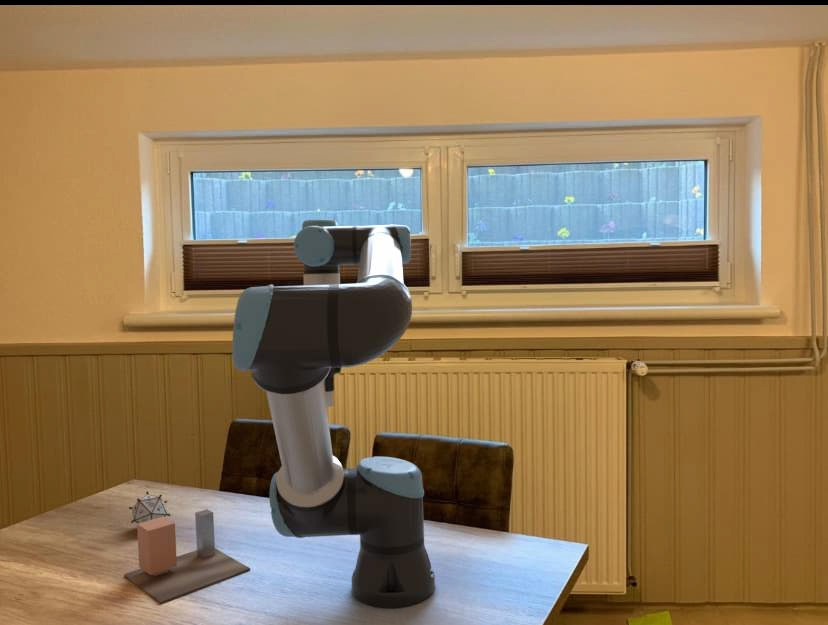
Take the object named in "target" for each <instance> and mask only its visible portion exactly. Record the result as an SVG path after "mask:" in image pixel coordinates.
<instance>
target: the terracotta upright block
mask: <svg viewBox="0 0 828 625" xmlns="http://www.w3.org/2000/svg"><path fill="white" fill-rule="evenodd" d="M136 529H137V531H136V532H137V550H138V567H139V569H143V570H144V571H145V572H147V573H148V574H149V575H153V574H156V573H159V572H162V571H165V570H168V569H171V568H174V567H176V566H177V556H178V555H177V542H176V541H177V540H176V523H175V522H174V521H172V520H170V519H168V518H167V517H159V518H156V519H152V520H149V521H145V522H142V523H138V524H137V523H136Z"/></svg>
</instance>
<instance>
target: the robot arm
mask: <svg viewBox="0 0 828 625" xmlns="http://www.w3.org/2000/svg"><path fill="white" fill-rule="evenodd" d="M411 242H412V240H411V229H410V227H408V225H406V224H405V225H402V224H392V223H390V224H383V225H379V224H375V225H342V226H339V223H338V222H337V221H336V220H335V219H328V218H327V219H326V218H325V219H324V218H323V219H322V218H321V219H319V218H317V219H316V218H314V219H308V220H304V221H303V222H302V226H301V229H300V230H299V231H298V233H297V234H296V236H295V238H294V240H293V250H294V254H295V255H296V258H298V260H300V262H301V263H303V284H302V285H283V286H281V285H280V286H276V285H275V286H274V284H268V285H265V286H253V287H252V286H250V287H248V288H246V289H244V290H243V291H242V292H241V293H240V295H239V298H238V299H237V303H236V306H235V313H234V320H233V329H232V331H233V332H232V347H231V348H232V362H233V366H234V368H235V369H236V370H239V371H243V373H246V372H249V371H250V373H251V377H252V379H253V381H254V383H255V384H256V386H258V387H259V388H260V389H261V390H263V391H264V392H266V393H265V394H266V396H267V397H266V398H267V401H268V407H269V411H270V416H271V420H272V424H273V429H274V434H275V440H276V444H277V448H278V453H279V458H280V462H281V466H280V468H279V470H278V471H277V472H275V473H274V474H273V476H272V478H271V482H270V486H269V507H270V509H271V512H270V514H271V520H272V524H273V526H274V529H275V530H276V531H277V533H278V534H279V535H281V536H282V537H286V538H289V537H290V538H291V537H292V538H298V539H302V538H312V537H314V538H315V537H316V538H317V537H335V536H340V537H341V536H353V535H354V536H359V543H360V544H359V552H358V555H357V559H356V563H355V564H356V565H355V569H353V572H352V575H351V592H352V595H353V596H354V597H355V598H356V599H357V600H358V601H360V602H361V603H363V604H364V605H365V604H366V605H368V606H372V607H378V608H386V609H387V608H388V609H390V608H391V609H394V608H402V607H409V606H412V605H416V604H418V603H421V602H423V601H425V600H427V599H428V598H430V596H432V594H433V593H434V591H435V589H436V584H435V583H436V582H435V581H436V578H435V577H436V576H435V572H434V568H433V567H432V565H431V561H430V558H429V555H428V551H427V548H426V546H425V528H424V526H425V524H424V522H425V521H424V520H425V519H424V501H423V500H424V499H423V497H424V496H425V490H424V486H423V476H422V471H421V470H420V469H419V468H418V466H416V465H415V464H414V463H412V462H411V461H407V460H404V459H402V458H401V459H400V458H397V457H391V456H371V457H364V458H362V459H360V460H359V461H358V462H357V464H356V468H355V467H354V468H353V467H352V468H349V467H348V468H345V467H344V468H343V466H342V463H341V462H340V461H339V459H338V458H337V457H336V456H334V455H333V448H332V439H331V430H330V424H329V416H328V415H329V414H328V409H327V408H328V407H333V406H335V405H334V391H335V375H337V374H340V373H341V371H342V368H353V367H358V366H362V365H364V364H367V363H369V362H371V361H374V360H376V359H378V358H379V357H381V356H383V355H384V354H385V353H387V352H388V351H389V350H390V349H392V348H393V347H394V346H395V345H396V344H397V343H398V342H399V341H400V340H401V338H402V337H403V335H404V334H405V332H406V331H407V329H408V327H409V325H410V322H411V319H412V315H413V303H412V295H411V293H410V291H409V289H408V287H407V286H406V285H405V283H404V272H403V271H404V270H403V265H404V264H408V263H410V262H411V259H412V249H411V248H412V247H411V246H412V245H411V244H412V243H411ZM340 266H358V273H357V280H356V283H341V275H340V274H341V272H340Z"/></svg>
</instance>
